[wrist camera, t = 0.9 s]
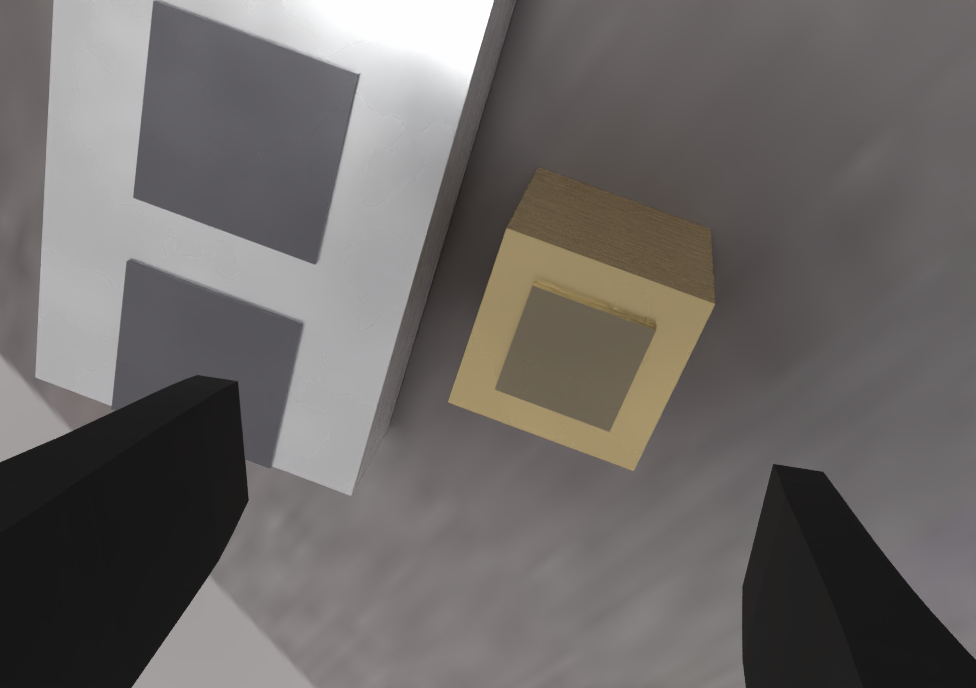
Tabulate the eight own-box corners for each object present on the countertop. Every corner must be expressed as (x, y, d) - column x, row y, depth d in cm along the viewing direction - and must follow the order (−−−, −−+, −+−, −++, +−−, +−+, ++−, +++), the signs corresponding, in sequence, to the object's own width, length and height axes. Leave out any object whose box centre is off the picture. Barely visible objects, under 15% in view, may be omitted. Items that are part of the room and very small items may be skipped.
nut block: (710, 228, 20) (715, 308, 16) (642, 375, 22) (633, 477, 18) (538, 165, 20) (504, 231, 16) (486, 317, 22) (445, 407, 18)
